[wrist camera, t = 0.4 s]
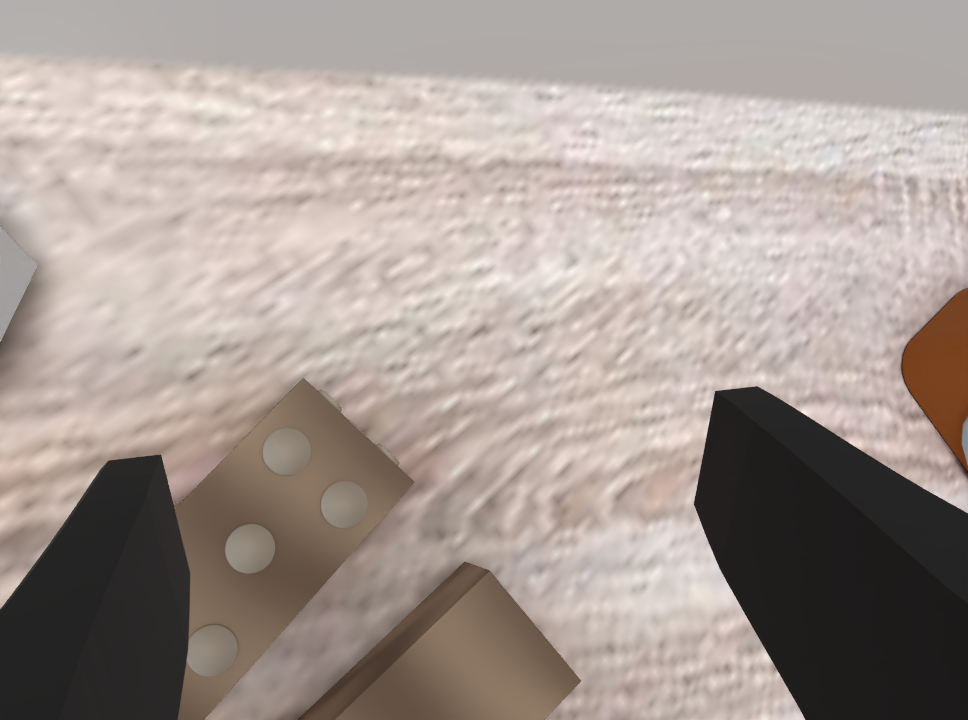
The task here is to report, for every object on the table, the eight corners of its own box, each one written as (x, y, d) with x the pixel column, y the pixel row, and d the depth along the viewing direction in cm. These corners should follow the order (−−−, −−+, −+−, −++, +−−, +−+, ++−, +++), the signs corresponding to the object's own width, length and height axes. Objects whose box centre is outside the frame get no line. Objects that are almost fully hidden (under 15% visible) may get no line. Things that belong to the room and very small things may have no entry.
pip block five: (194, 704, 36) (192, 734, 32) (79, 606, 35) (62, 624, 31) (398, 476, 39) (419, 477, 35) (298, 383, 38) (308, 372, 34)
